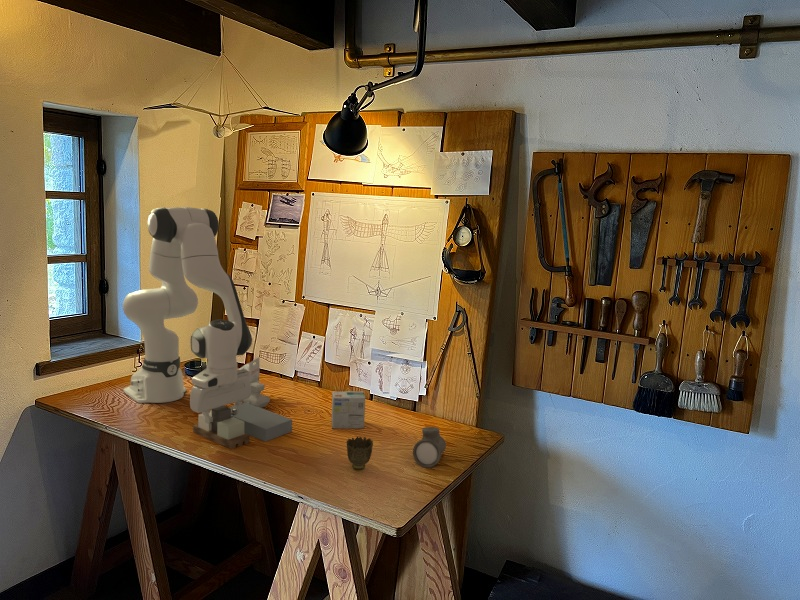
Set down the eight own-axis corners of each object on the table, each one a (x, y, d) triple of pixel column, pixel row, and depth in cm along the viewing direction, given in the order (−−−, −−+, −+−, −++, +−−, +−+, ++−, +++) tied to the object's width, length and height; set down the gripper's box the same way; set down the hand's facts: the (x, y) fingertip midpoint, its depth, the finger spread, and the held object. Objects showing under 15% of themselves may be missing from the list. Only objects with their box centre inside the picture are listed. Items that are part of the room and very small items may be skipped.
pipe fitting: (438, 470, 176) (439, 434, 175) (411, 466, 179) (412, 430, 178) (450, 458, 187) (451, 424, 187) (425, 455, 190) (426, 421, 189)
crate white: (198, 427, 191) (198, 414, 190) (214, 421, 196) (214, 409, 195) (208, 431, 188) (208, 419, 187) (224, 426, 193) (224, 413, 192)
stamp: (253, 413, 211) (253, 389, 209) (239, 408, 214) (240, 384, 213) (272, 406, 218) (273, 383, 217) (259, 401, 222) (259, 379, 220)
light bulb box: (362, 421, 210) (364, 390, 208) (364, 428, 203) (366, 397, 201) (330, 421, 208) (331, 390, 206) (331, 429, 201) (333, 397, 200)
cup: (345, 462, 178) (346, 435, 177) (371, 462, 179) (372, 436, 177) (345, 474, 171) (346, 446, 169) (372, 474, 172) (373, 447, 170)
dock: (218, 422, 201) (218, 410, 200) (245, 413, 210) (245, 402, 209) (265, 441, 189) (265, 429, 188) (291, 431, 198) (292, 419, 197)
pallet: (193, 433, 192) (193, 404, 191) (211, 426, 198) (211, 398, 196) (231, 450, 182) (231, 419, 180) (249, 443, 188) (250, 413, 186)
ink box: (246, 393, 229) (247, 355, 227) (259, 395, 228) (260, 356, 226) (236, 401, 221) (236, 361, 218) (249, 403, 220) (249, 362, 217)
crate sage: (217, 435, 186) (217, 422, 185) (233, 429, 191) (233, 417, 190) (228, 439, 183) (228, 427, 182) (244, 434, 188) (244, 421, 187)
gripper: (242, 365, 196) (242, 407, 199) (186, 379, 180) (187, 425, 182) (256, 369, 193) (255, 412, 195) (200, 384, 176) (200, 430, 179)
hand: (221, 418), depth 189 cm, fingers open, 8 cm apart
